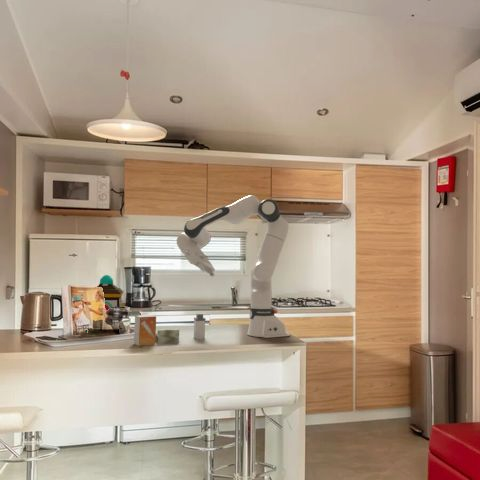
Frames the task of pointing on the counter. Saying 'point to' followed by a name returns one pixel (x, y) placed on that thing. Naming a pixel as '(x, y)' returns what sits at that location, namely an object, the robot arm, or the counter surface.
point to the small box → (145, 330)
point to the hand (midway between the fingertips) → (208, 273)
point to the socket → (167, 336)
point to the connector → (199, 327)
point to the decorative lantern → (111, 292)
